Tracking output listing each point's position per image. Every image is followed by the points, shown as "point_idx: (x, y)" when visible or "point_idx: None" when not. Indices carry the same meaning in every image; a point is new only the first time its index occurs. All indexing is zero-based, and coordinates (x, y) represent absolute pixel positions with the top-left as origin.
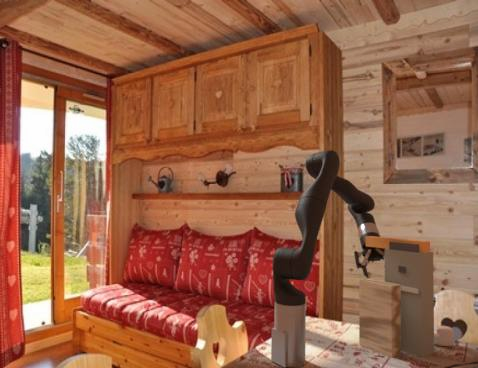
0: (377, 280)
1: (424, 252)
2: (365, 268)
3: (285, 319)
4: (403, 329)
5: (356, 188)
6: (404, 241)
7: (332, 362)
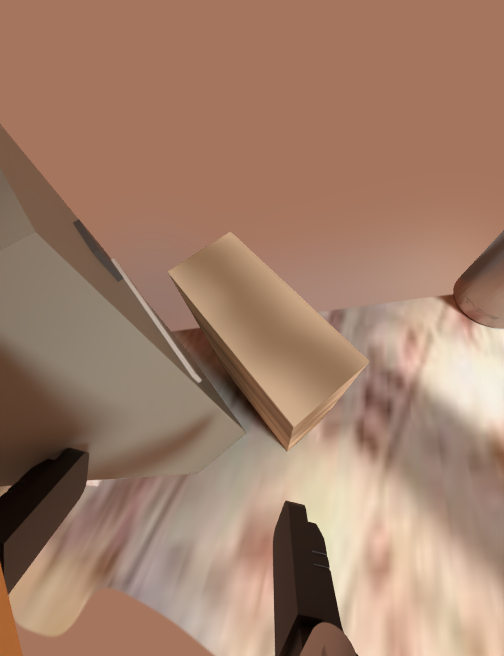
0: (248, 370)
1: None
2: (304, 566)
3: None
4: (200, 372)
5: None
6: None
7: (393, 306)
